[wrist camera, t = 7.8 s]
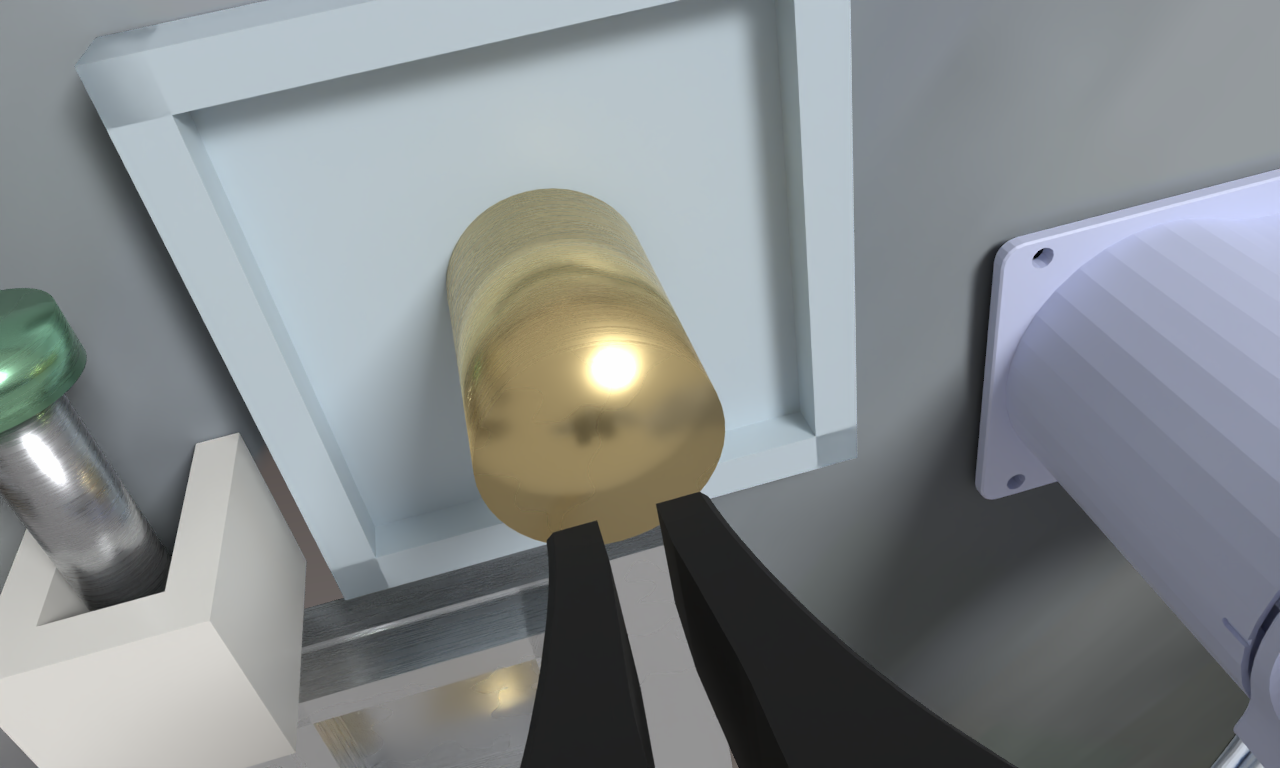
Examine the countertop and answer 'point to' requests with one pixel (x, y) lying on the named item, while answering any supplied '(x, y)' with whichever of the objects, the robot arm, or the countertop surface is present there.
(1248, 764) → the white printed book
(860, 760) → the robot arm
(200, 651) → the white block
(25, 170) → the countertop surface
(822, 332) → the tray
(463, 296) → the cylinder
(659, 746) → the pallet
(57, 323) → the knob
